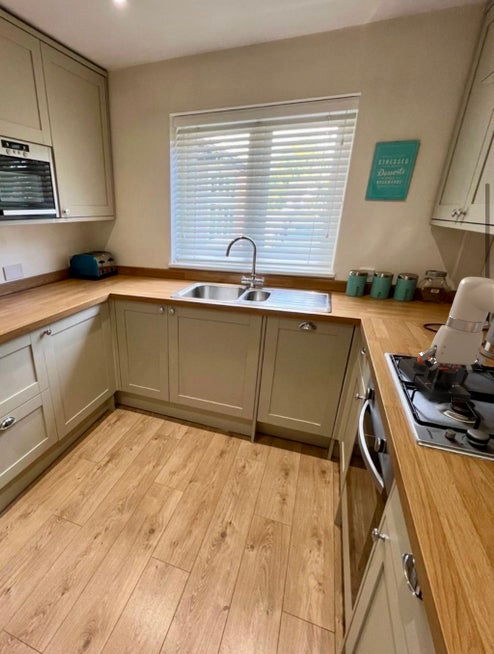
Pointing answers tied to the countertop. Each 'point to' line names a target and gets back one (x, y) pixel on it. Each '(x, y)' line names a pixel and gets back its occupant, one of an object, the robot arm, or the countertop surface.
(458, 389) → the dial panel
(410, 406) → the countertop surface
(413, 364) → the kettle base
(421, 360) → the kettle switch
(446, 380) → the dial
